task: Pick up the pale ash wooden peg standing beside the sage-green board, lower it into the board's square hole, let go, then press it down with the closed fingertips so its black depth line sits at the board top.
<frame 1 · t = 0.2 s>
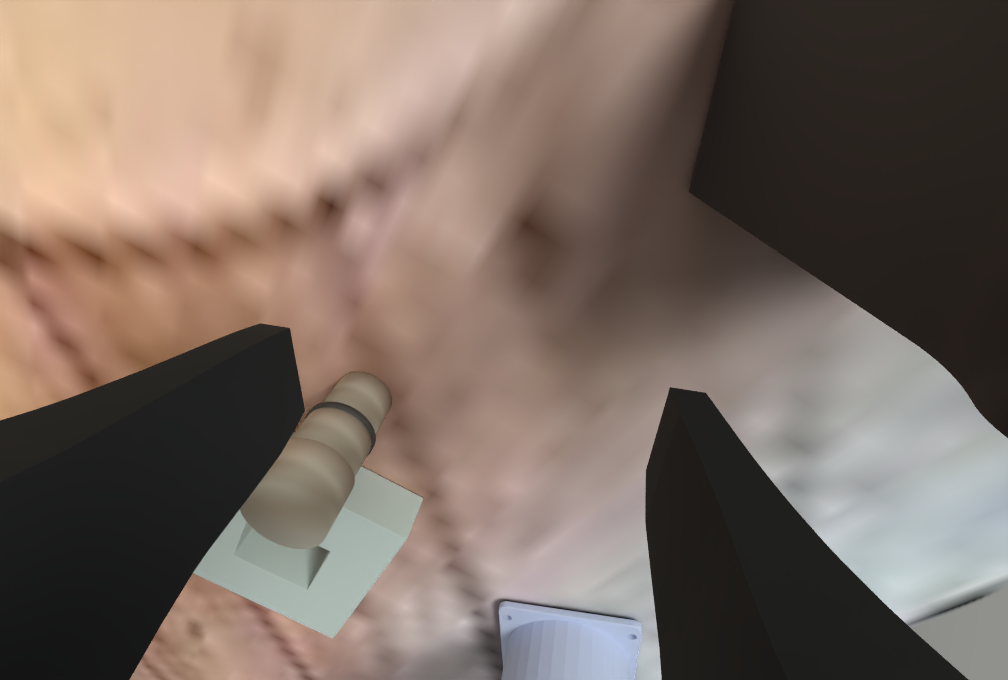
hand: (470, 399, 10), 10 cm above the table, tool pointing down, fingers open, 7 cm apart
peg: (364, 395, 24), on the table
hole board: (304, 515, 30), on the table
phone stand: (875, 97, 15), on the table
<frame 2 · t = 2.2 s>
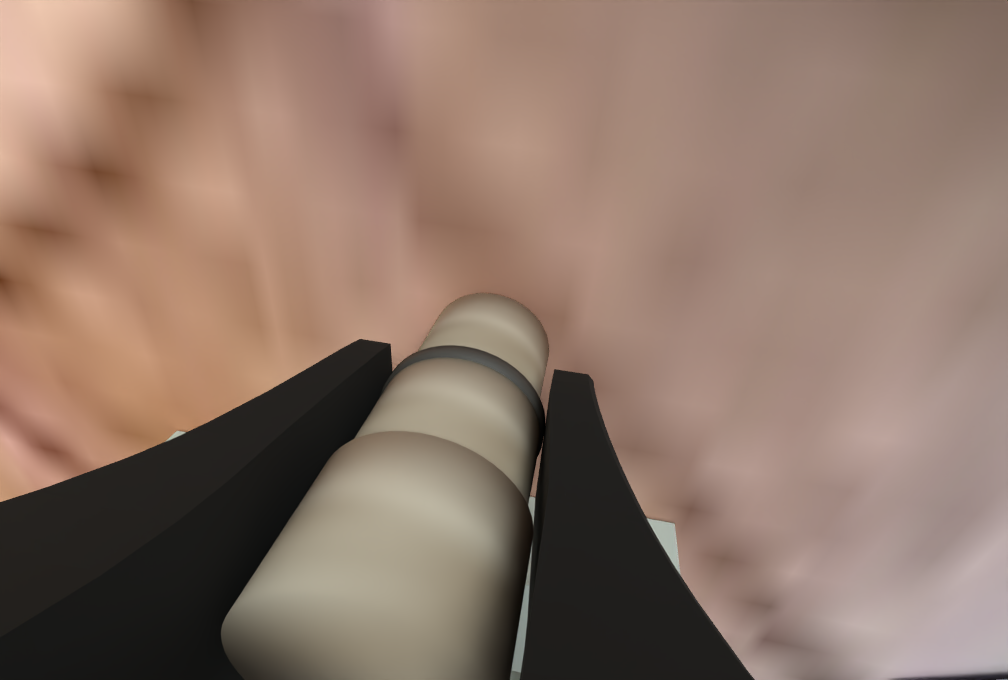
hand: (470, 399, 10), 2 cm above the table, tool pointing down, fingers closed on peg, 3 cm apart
peg: (490, 346, 12), on the table, touching gripper
hole board: (475, 614, 17), on the table
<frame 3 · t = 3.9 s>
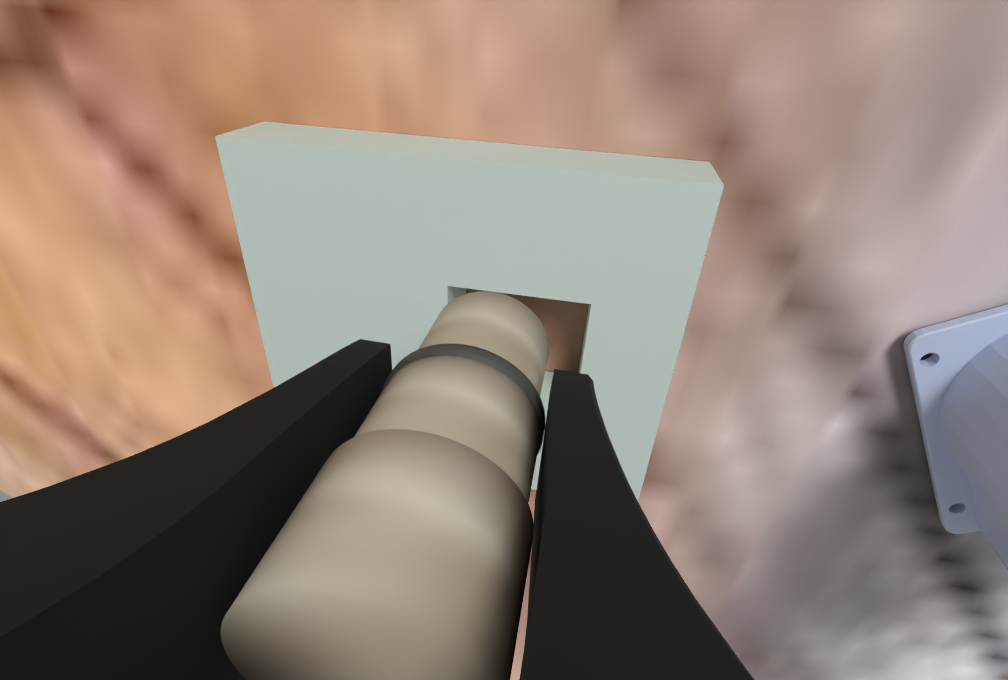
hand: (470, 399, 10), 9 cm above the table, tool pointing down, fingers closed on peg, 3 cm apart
peg: (490, 344, 12), point 7 cm above the table, touching gripper
hole board: (525, 318, 19), on the table
when the fingers open (3 cm above the table, at t = 5.8 s): peg drops 1 cm, resting in hole board.
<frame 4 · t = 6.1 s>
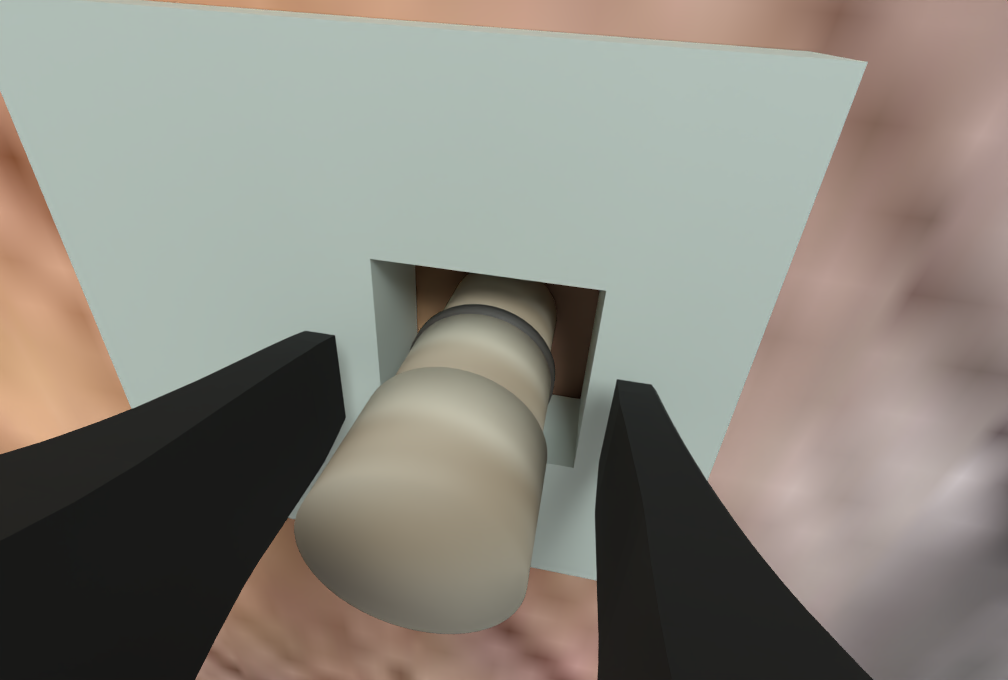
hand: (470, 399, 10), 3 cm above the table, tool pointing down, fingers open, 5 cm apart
peg: (503, 313, 13), resting in hole board
hole board: (502, 314, 13), on the table
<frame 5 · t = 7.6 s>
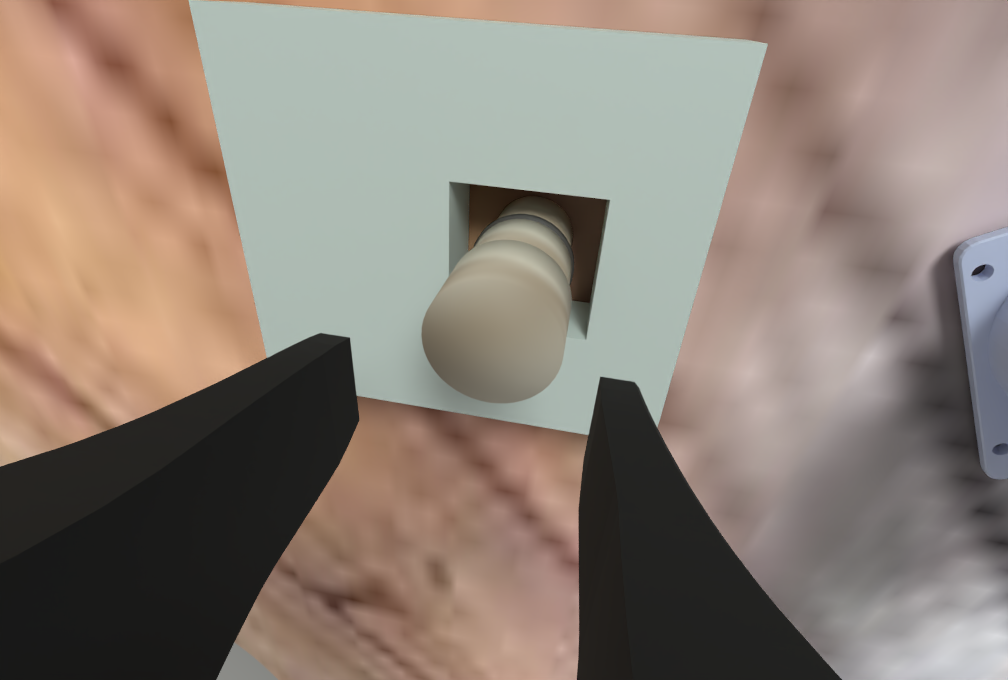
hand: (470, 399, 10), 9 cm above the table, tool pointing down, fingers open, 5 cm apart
peg: (533, 234, 17), resting in hole board
hole board: (533, 235, 17), on the table
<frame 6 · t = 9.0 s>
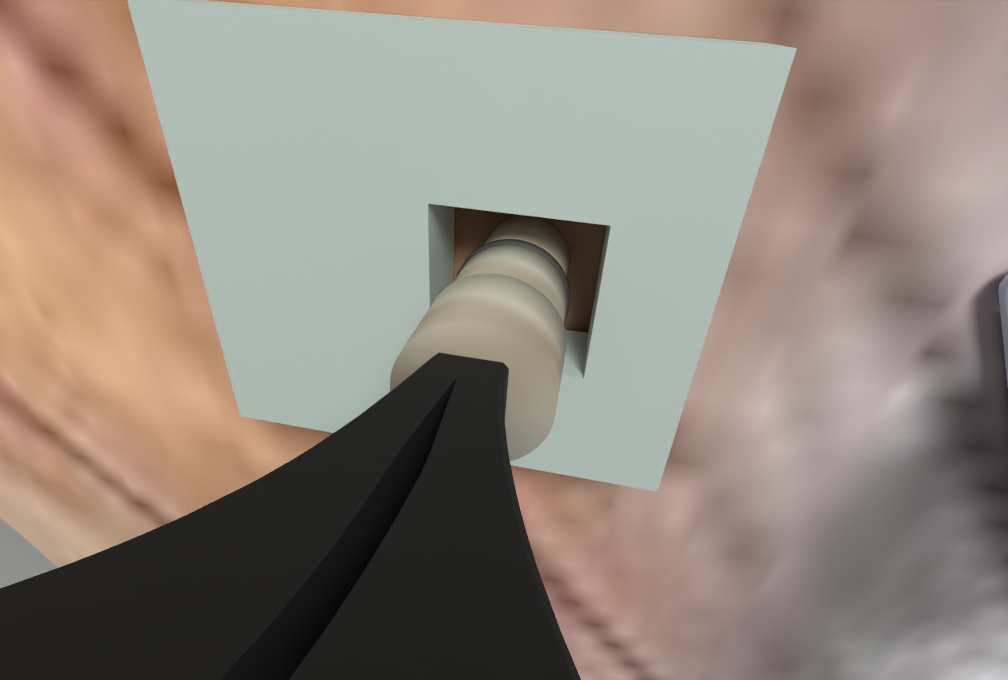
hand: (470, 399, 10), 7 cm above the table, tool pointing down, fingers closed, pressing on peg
peg: (526, 258, 16), resting in hole board, touching gripper
hole board: (525, 259, 16), on the table
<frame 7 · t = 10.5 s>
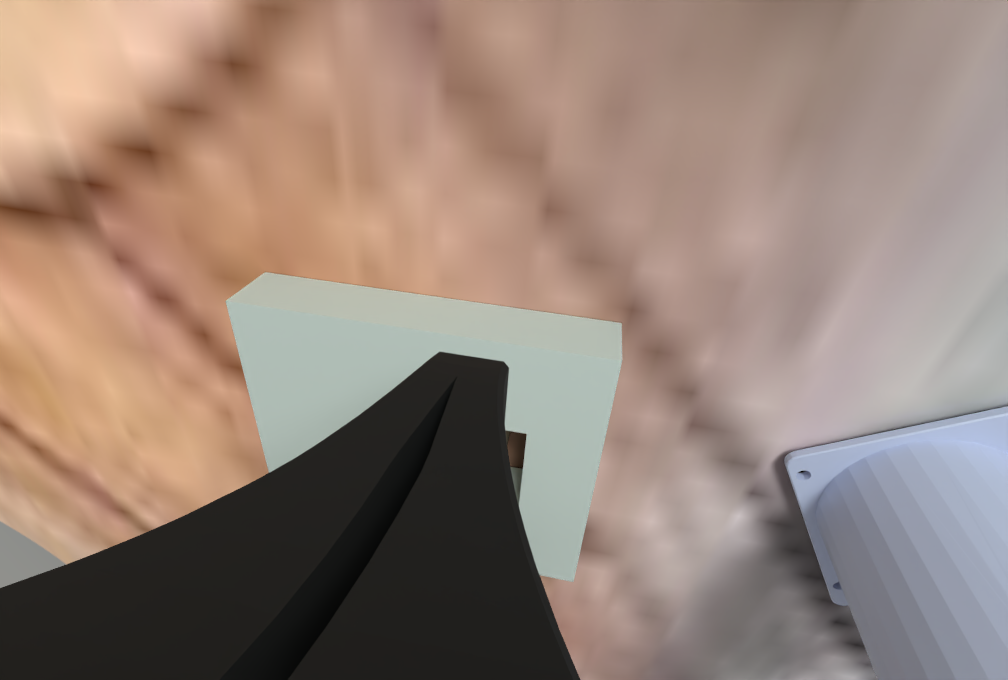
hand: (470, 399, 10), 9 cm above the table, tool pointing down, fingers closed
hole board: (481, 424, 23), on the table
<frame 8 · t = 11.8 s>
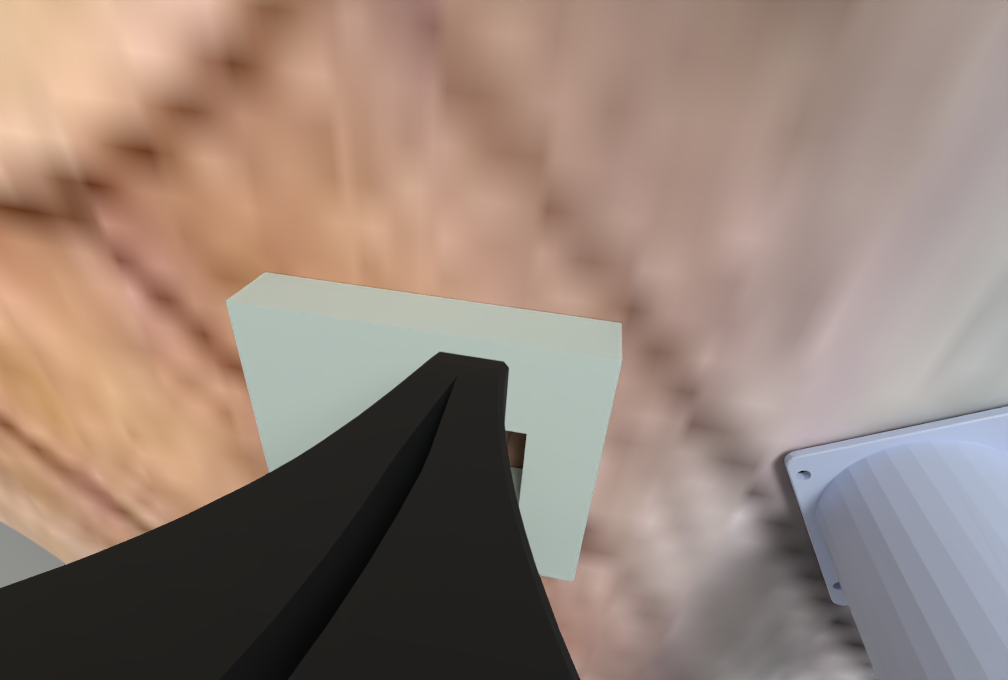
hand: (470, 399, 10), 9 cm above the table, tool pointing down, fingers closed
hole board: (481, 424, 23), on the table
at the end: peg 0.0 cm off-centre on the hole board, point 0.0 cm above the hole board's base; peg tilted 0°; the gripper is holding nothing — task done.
